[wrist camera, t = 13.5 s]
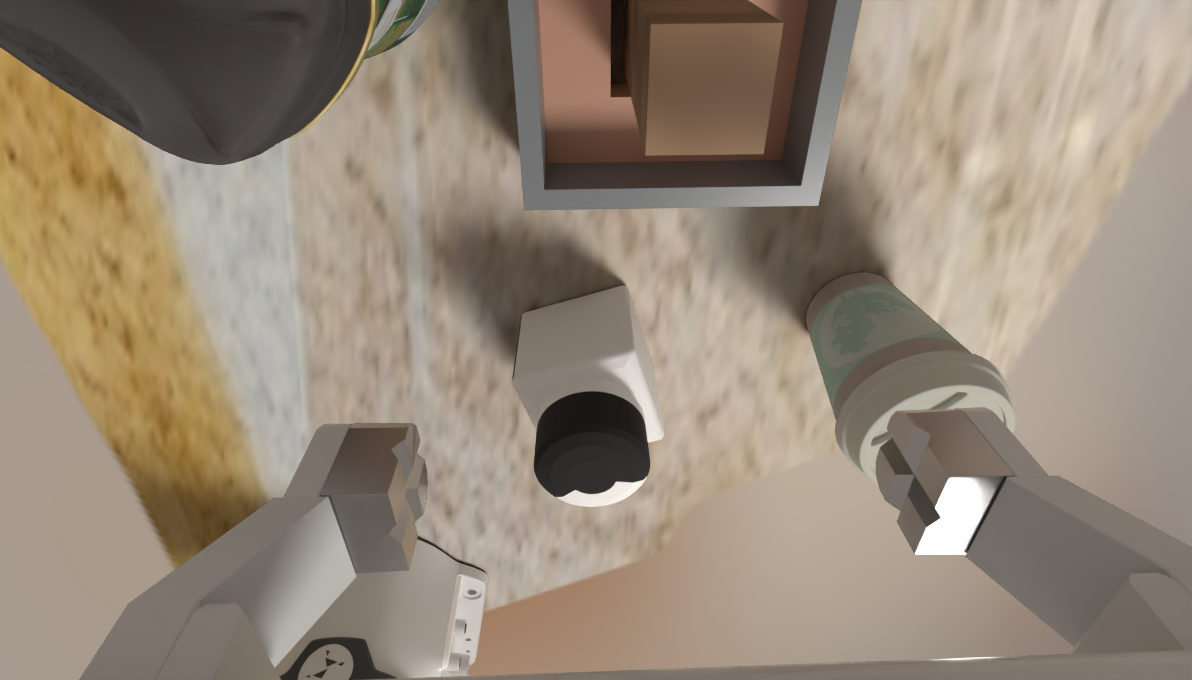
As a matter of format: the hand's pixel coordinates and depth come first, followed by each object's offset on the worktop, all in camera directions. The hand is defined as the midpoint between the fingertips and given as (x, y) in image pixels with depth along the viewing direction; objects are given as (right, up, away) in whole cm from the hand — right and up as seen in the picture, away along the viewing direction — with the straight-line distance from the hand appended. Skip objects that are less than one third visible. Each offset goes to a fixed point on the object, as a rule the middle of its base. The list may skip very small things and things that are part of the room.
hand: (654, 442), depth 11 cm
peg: (+2, +17, +20) cm, 26 cm away
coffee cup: (+16, +4, +30) cm, 34 cm away
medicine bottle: (-1, +2, +31) cm, 31 cm away
